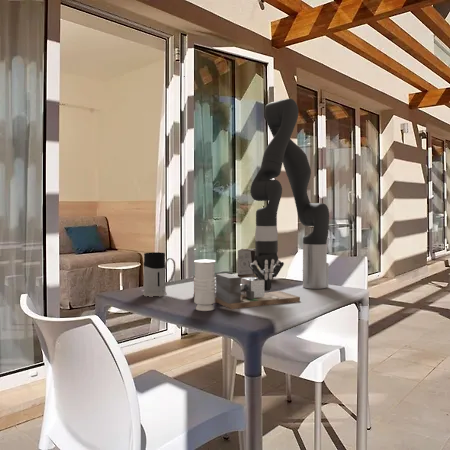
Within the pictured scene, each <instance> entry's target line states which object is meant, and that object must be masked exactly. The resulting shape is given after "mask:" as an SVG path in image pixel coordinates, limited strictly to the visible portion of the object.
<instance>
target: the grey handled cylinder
mask: <svg viewBox="0 0 450 450" xmlns="http://www.w3.org/2000/svg"><path fill="white" fill-rule="evenodd" d="M143 260H144V261H143V293H142V296H143V295H144V297H147V296H149V298H150V297H152V298H154V297H153V296H159V297H165V296H167V295H168V293H167V290H166V288H167V287H166V286H167V285H169V284H170V282H171V281H172V280H173V278H174V276H175V274H176V273H175V272H176V261H175V260H174V258H171V257H169V258H166V253H165V252H158V251H157V252H155V251H154V252H144V255H143ZM169 260H171V261H172V263H173V271H172V275H171V276H170V279H169V280H168V281H167V280H166V274H167V273H166V269H167V267H168V266H167V265H168V261H169ZM166 281H167V282H166ZM164 295H165V296H164Z"/></svg>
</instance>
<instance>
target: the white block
mask: <svg viewBox="0 0 450 450" xmlns="http://www.w3.org/2000/svg"><path fill="white" fill-rule="evenodd" d="M250 279H251V291H254V298H257V297H264V293H265V290H264V280H263V279H261V278H256V277H247V278H241V295H244V296H246V290H250Z"/></svg>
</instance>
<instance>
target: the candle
mask: <svg viewBox="0 0 450 450" xmlns="http://www.w3.org/2000/svg"><path fill="white" fill-rule="evenodd" d="M193 263H194V275H195V278H193V293H194V292H195V297H193V303H194V304H196V307H195V310H196V311H202V312H207V311H213V310H215V307H214V304H215V303H216V301H215V297H216V272H215V270H216V269H215V267H216V266H215V265H216V264H215V263H216V260H215V259H195V260H193ZM194 281H195V282H194ZM194 288H195V289H194Z"/></svg>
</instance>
